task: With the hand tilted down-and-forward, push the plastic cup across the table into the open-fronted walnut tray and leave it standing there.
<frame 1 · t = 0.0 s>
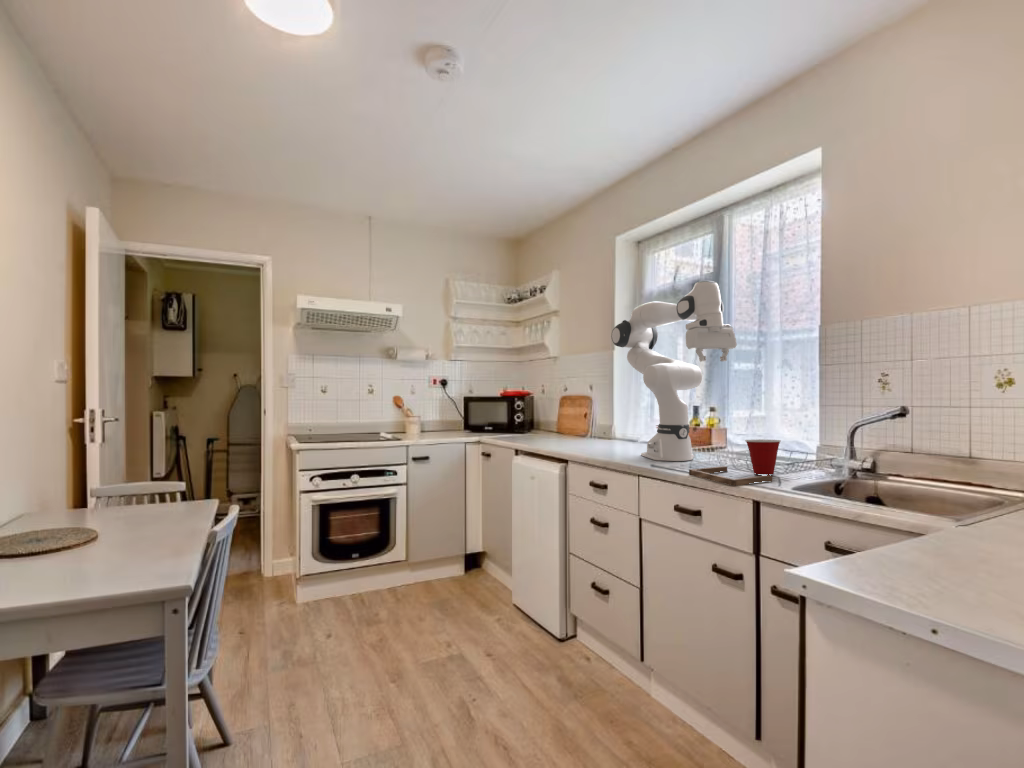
hand: (713, 361, 182), 39 cm above the countertop, tool pointing down, fingers open, 8 cm apart
tray: (730, 477, 163), on the countertop
plastic cup: (763, 475, 168), on the countertop
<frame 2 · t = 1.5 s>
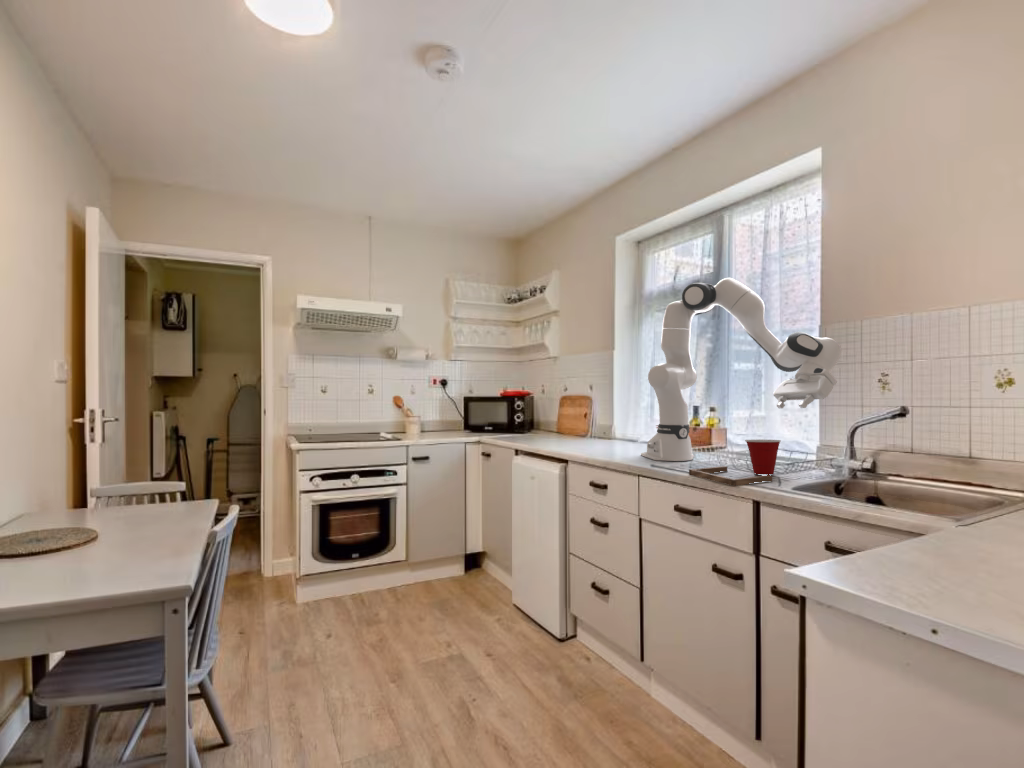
hand: (790, 407, 171), 22 cm above the countertop, tool tilted 45°, fingers open, 8 cm apart
nothing on the countertop moved.
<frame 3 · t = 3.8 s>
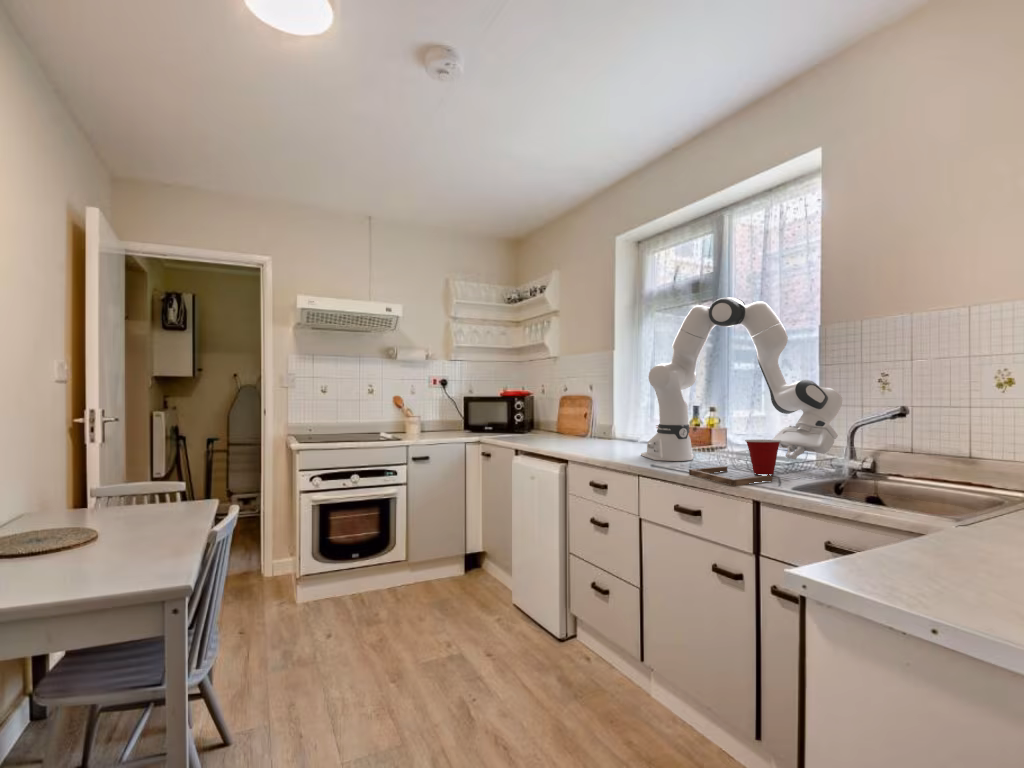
hand: (790, 457, 172), 5 cm above the countertop, tool tilted 45°, fingers closed
nothing on the countertop moved.
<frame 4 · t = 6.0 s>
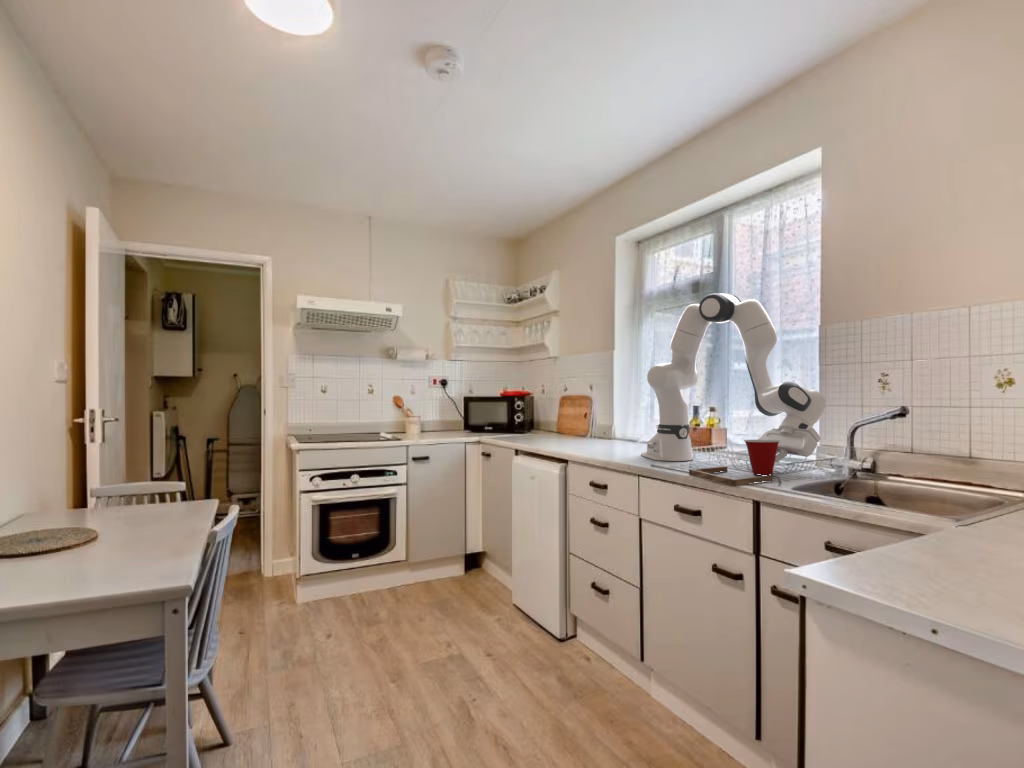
hand: (772, 460, 169), 4 cm above the countertop, tool tilted 45°, fingers closed, pressing on plastic cup
plastic cup: (762, 475, 168), on the countertop, touching gripper
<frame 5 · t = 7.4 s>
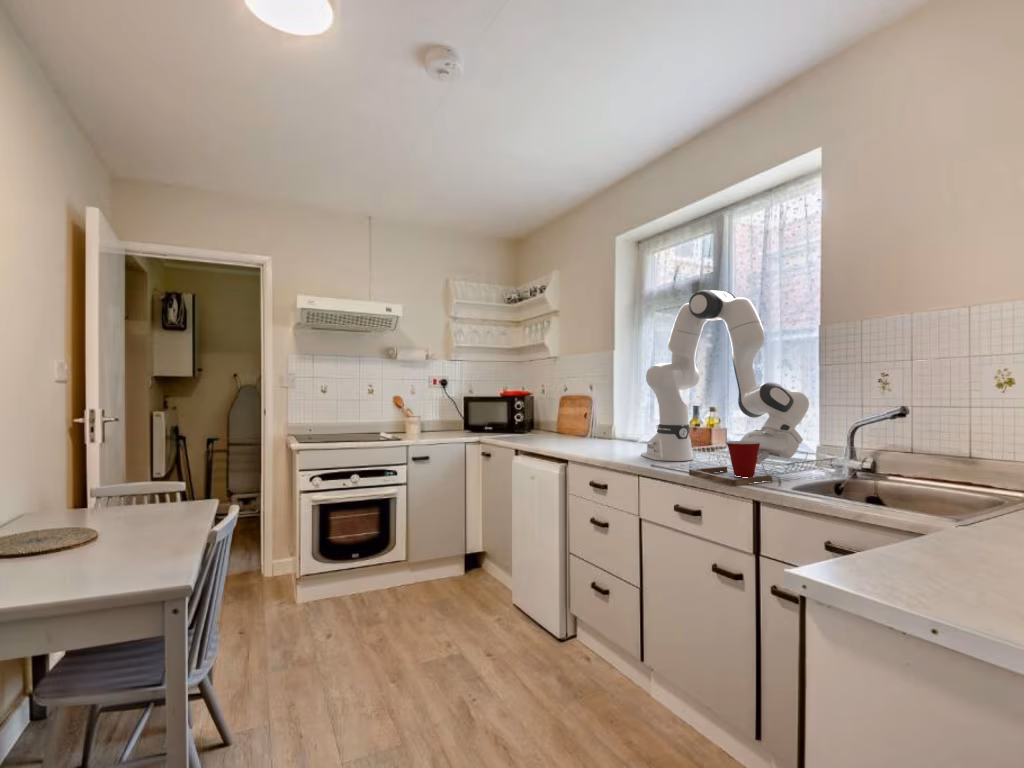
hand: (754, 462, 167), 4 cm above the countertop, tool tilted 45°, fingers closed, pressing on plastic cup
plastic cup: (743, 477, 165), on the countertop, touching gripper
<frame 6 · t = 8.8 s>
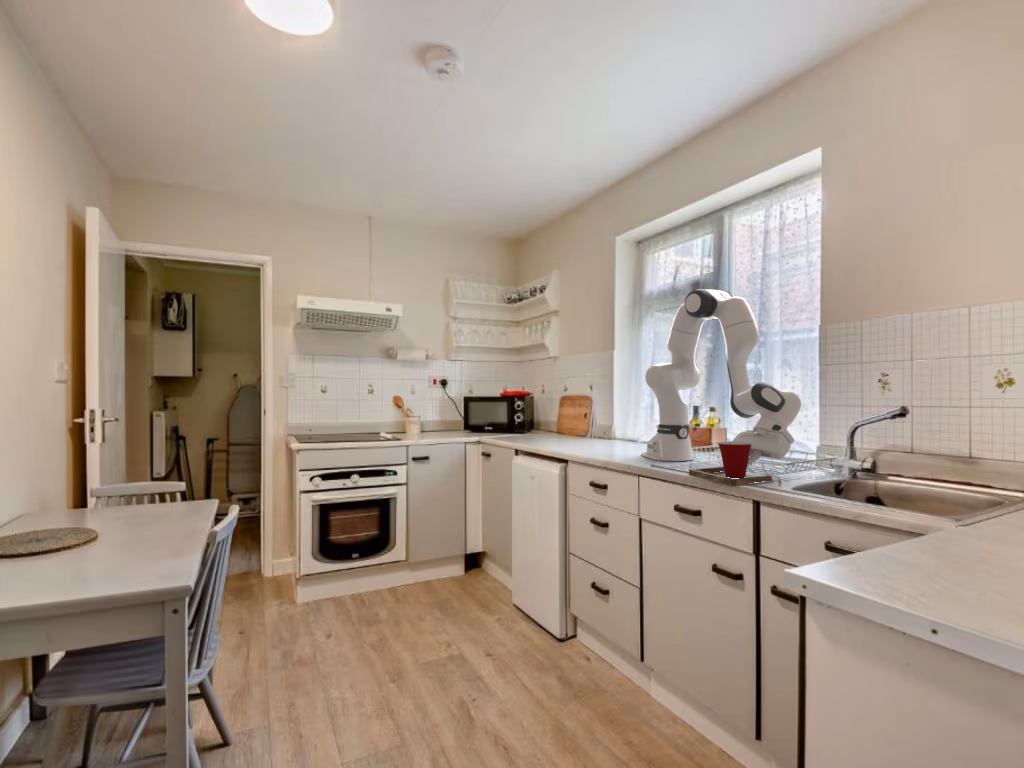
hand: (746, 463, 165), 4 cm above the countertop, tool tilted 45°, fingers closed, pressing on plastic cup
plastic cup: (735, 478, 164), on the countertop, touching gripper
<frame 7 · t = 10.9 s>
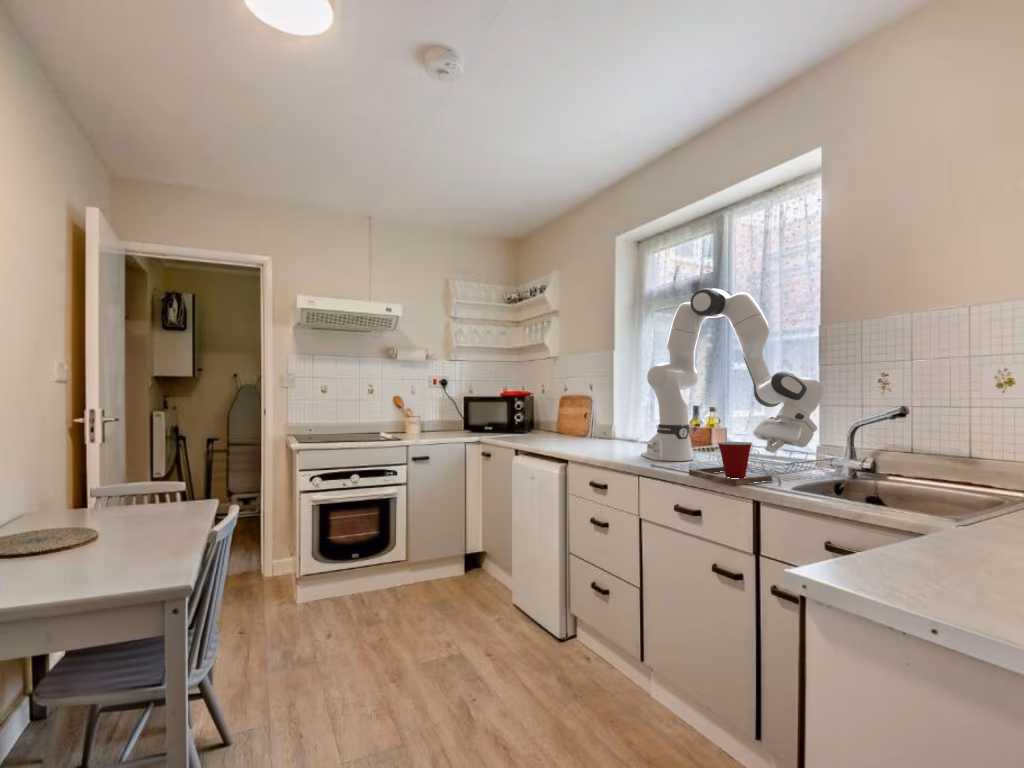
hand: (769, 451, 170), 8 cm above the countertop, tool tilted 40°, fingers closed
plastic cup: (735, 478, 164), on the countertop
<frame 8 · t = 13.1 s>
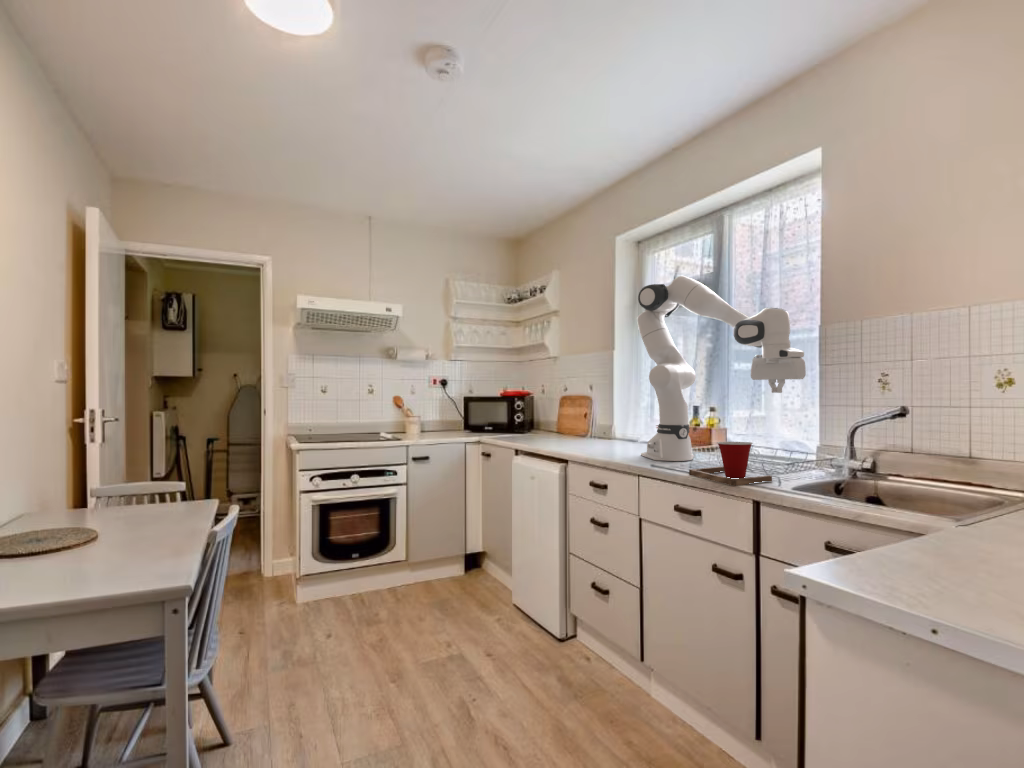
hand: (776, 392, 175), 27 cm above the countertop, tool pointing down, fingers closed
nothing on the countertop moved.
at the end: plastic cup inside the target area (2.0 cm from its centre), on the countertop; plastic cup tilted 0° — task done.
